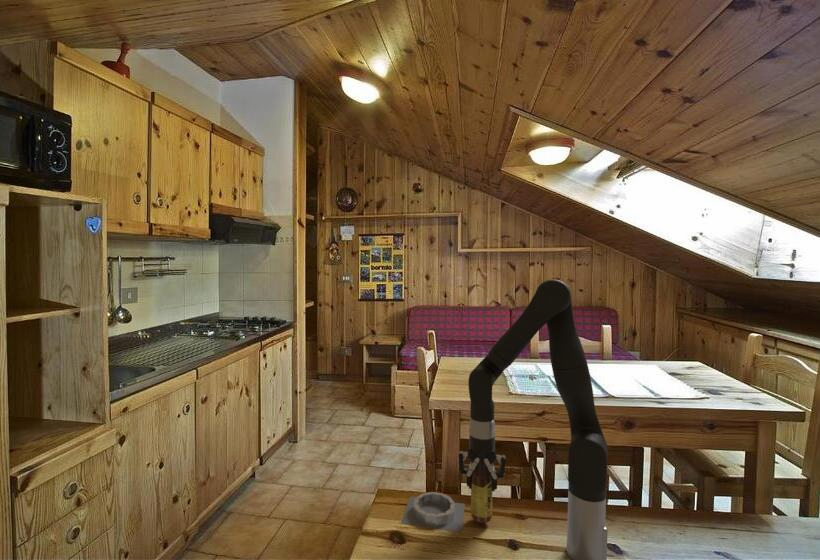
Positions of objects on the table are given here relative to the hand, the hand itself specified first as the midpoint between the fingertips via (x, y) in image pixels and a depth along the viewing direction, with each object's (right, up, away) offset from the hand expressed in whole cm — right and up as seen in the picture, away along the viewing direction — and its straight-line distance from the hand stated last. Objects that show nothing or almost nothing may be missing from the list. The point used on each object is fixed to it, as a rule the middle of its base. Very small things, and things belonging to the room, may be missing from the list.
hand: (481, 488), depth 116 cm
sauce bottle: (0, -9, 0) cm, 9 cm away
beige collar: (-14, -10, +4) cm, 18 cm away
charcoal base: (-14, -11, +4) cm, 18 cm away
